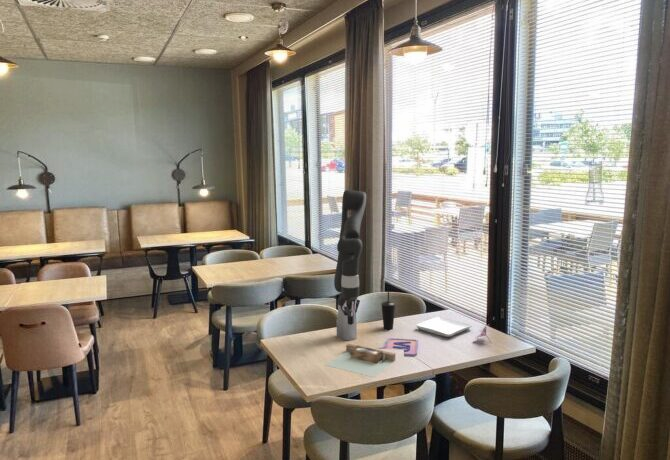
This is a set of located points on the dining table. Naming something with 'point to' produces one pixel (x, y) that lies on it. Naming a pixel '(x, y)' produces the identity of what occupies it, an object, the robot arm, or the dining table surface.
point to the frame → (366, 354)
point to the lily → (483, 333)
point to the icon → (402, 345)
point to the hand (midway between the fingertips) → (350, 323)
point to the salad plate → (443, 326)
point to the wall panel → (361, 363)
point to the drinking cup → (388, 313)
